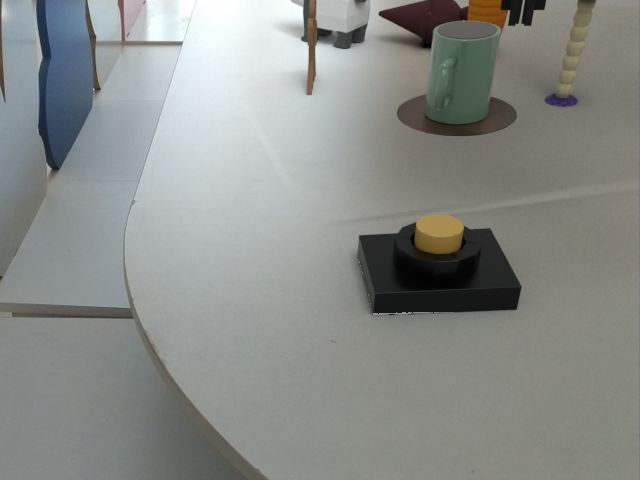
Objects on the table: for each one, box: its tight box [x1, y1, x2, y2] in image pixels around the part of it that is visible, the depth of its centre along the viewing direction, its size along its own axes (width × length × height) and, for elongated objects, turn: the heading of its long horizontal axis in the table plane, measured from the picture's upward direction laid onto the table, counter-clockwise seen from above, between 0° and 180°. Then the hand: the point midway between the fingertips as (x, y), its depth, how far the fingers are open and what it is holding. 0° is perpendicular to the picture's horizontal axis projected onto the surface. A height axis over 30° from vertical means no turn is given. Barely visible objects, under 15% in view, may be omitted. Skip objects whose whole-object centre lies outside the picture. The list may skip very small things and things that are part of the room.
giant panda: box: [290, 0, 371, 49], centre depth 115 cm, size 15×6×10 cm, turn 43°
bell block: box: [357, 221, 523, 314], centre depth 64 cm, size 11×9×4 cm
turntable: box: [396, 94, 518, 137], centre depth 89 cm, size 13×13×1 cm
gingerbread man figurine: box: [306, 0, 318, 96], centre depth 97 cm, size 9×4×12 cm, turn 167°
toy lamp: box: [543, 0, 597, 108], centre depth 84 cm, size 5×5×17 cm
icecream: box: [378, 0, 469, 47], centre depth 109 cm, size 7×7×15 cm
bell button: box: [414, 213, 465, 254], centre depth 62 cm, size 4×4×2 cm
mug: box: [423, 20, 502, 125], centre depth 85 cm, size 10×7×9 cm
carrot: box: [467, 0, 509, 35], centre depth 97 cm, size 5×5×15 cm
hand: (520, 19), depth 58 cm, fingers closed
